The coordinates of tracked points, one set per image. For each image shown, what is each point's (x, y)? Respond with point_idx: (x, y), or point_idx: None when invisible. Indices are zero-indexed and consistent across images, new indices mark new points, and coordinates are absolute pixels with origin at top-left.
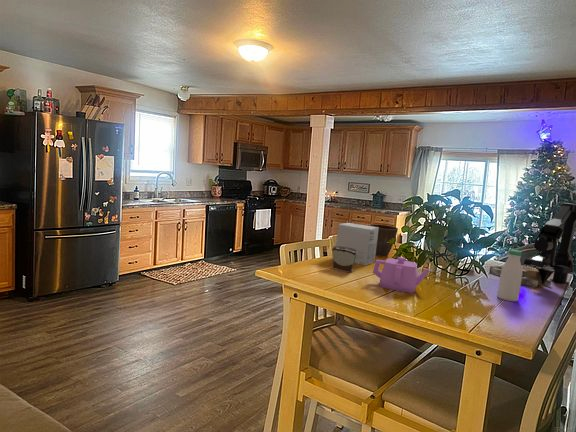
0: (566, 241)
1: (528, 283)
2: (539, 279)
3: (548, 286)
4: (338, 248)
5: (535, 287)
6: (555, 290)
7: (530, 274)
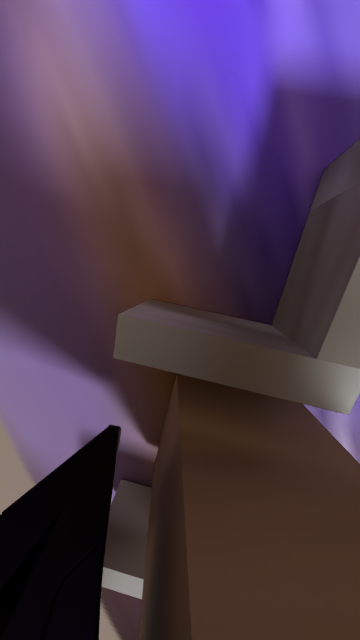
0: None
1: (242, 322)
2: (161, 491)
3: (122, 482)
4: None
5: (149, 301)
6: (32, 410)
7: (332, 535)
